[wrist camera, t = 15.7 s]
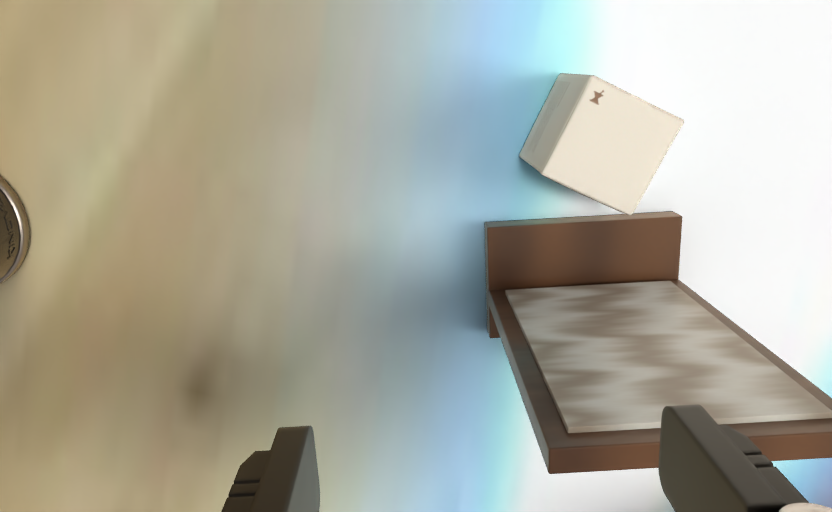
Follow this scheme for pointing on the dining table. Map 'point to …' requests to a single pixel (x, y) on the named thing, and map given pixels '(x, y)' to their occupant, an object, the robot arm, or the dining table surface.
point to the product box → (599, 140)
